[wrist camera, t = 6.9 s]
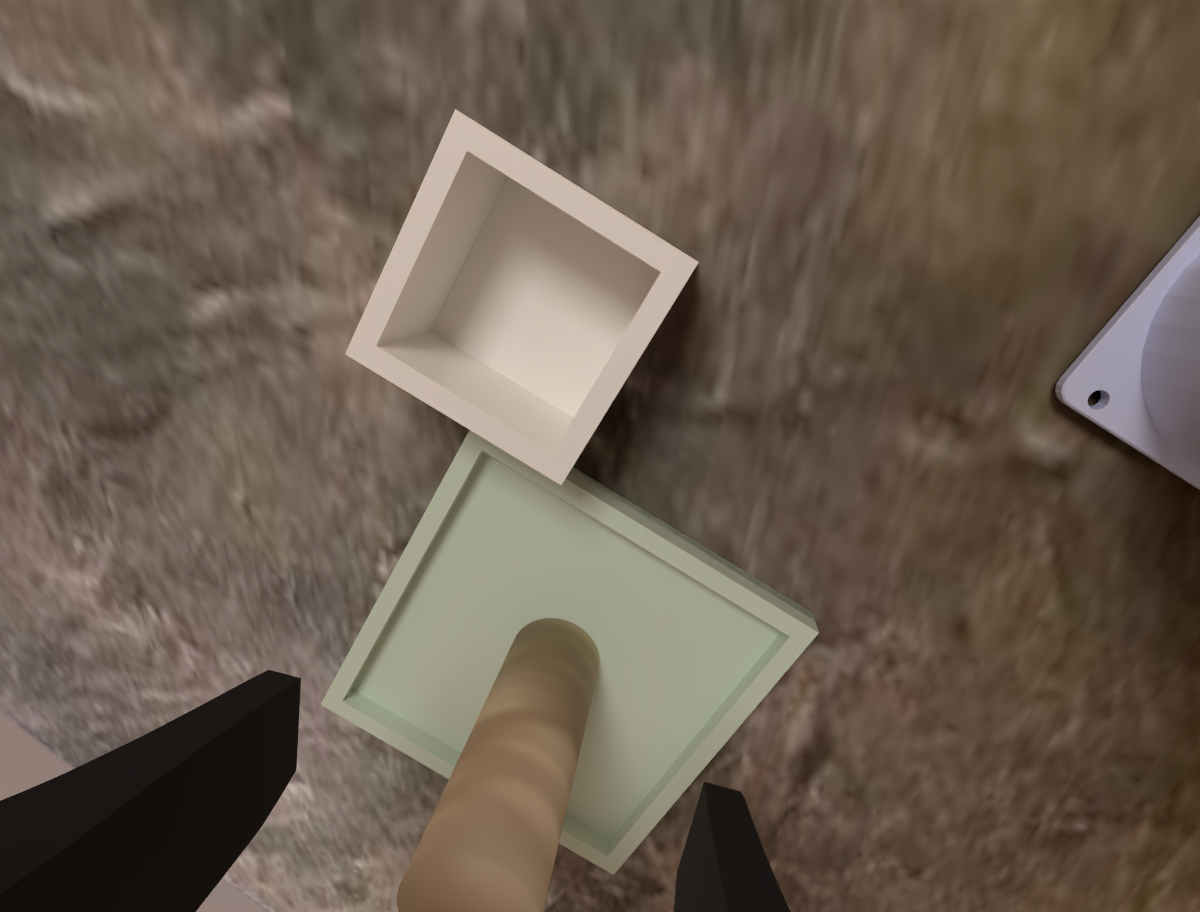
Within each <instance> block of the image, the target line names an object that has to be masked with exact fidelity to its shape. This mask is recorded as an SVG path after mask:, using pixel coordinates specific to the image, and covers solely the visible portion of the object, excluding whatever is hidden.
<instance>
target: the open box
mask: <svg viewBox="0 0 1200 912" xmlns="http://www.w3.org/2000/svg"><path fill="white" fill-rule="evenodd" d="M698 263H699V262H698V261H697V260H695V259H693V258H692V257H690V256H689V255H687V254H686V253H684V252H682V251H681V250H679V249H678V248H676V247H674V246H673V245H671V244H670V243H668V242H666V241H665V240H663V239H662V238H660V237H658V236H657V235H655V234H654V233H652V232H651V231H649V230H647V229H646V228H644V227H643V226H641V225H639V224H638V223H636V222H635V221H633V220H631V219H630V218H628V217H627V216H625V215H623V214H622V213H620V212H619V211H617V210H616V209H614V208H612V207H611V206H609V205H608V204H606V203H604V202H603V201H601V200H600V199H598V198H596V197H595V196H593V195H592V194H590V193H588V192H587V191H585V190H584V189H582V188H581V187H579V186H577V185H576V184H574V183H573V182H571V181H569V180H568V179H566V178H565V177H563V176H561V175H560V174H558V173H557V172H555V171H553V170H552V169H550V168H549V167H547V166H546V165H544V164H542V163H541V162H539V161H538V160H536V159H534V158H533V157H531V156H530V155H528V154H526V153H525V152H523V151H522V150H520V149H518V148H517V147H515V146H514V145H512V144H511V143H509V142H507V141H506V140H504V139H503V138H501V137H499V136H498V135H496V134H494V133H493V132H491V131H490V130H488V129H486V128H485V127H483V126H482V125H480V124H478V123H477V122H475V121H473V120H472V119H470V118H469V117H467V116H465V115H464V114H462V113H461V112H459V111H457V110H456V109H455V111H454V113H453V116H452V118H451V120H450V122H449V125H448V127H447V129H446V131H445V134H444V136H443V138H442V140H441V142H440V145H439V147H438V149H437V151H436V154H435V156H434V158H433V160H432V162H431V165H430V167H429V169H428V171H427V174H426V176H425V178H424V180H423V182H422V185H421V187H420V189H419V191H418V194H417V196H416V198H415V200H414V202H413V205H412V207H411V209H410V211H409V214H408V216H407V218H406V220H405V222H404V225H403V227H402V229H401V231H400V234H399V236H398V238H397V240H396V242H395V245H394V247H393V249H392V251H391V254H390V256H389V258H388V260H387V262H386V265H385V267H384V269H383V271H382V274H381V276H380V278H379V280H378V282H377V285H376V287H375V289H374V291H373V294H372V296H371V298H370V300H369V302H368V305H367V307H366V309H365V311H364V314H363V316H362V318H361V320H360V322H359V325H358V327H357V329H356V331H355V334H354V336H353V338H352V340H351V342H350V345H349V347H348V349H347V351H346V355H347V356H349V357H351V358H352V359H354V360H356V361H357V362H359V363H361V364H362V365H364V366H365V367H367V368H369V369H370V370H372V371H374V372H375V373H377V374H379V375H380V376H382V377H384V378H385V379H387V380H389V381H390V382H392V383H393V384H395V385H397V386H398V387H400V388H402V389H403V390H405V391H407V392H408V393H410V394H412V395H413V396H415V397H416V398H418V399H420V400H421V401H423V402H425V403H426V404H428V405H430V406H431V407H433V408H435V409H436V410H438V411H440V412H441V413H443V414H444V415H446V416H448V417H449V418H451V419H453V420H454V421H456V422H458V423H459V424H461V425H463V426H464V427H466V428H468V429H469V430H471V431H472V432H474V433H476V434H477V435H479V436H481V437H482V438H484V439H486V440H487V441H489V442H491V443H492V444H494V445H496V446H497V447H499V448H500V449H502V450H504V451H505V452H507V453H509V454H510V455H512V456H514V457H515V458H517V459H519V460H520V461H522V462H523V463H525V464H527V465H528V466H530V467H532V468H533V469H535V470H537V471H538V472H540V473H542V474H543V475H545V476H547V477H548V478H550V479H551V480H553V481H555V482H556V483H558V484H560V485H562V483H563V482H564V480H565V478H566V477H567V475H568V474H569V472H570V470H571V469H572V467H573V465H574V464H575V462H576V461H577V459H578V457H579V456H580V454H581V453H582V451H583V449H584V448H585V446H586V444H587V443H588V441H589V440H590V438H591V436H592V435H593V433H594V431H595V430H596V428H597V427H598V425H599V423H600V422H601V420H602V418H603V417H604V415H605V414H606V412H607V410H608V409H609V407H610V405H611V404H612V402H613V401H614V399H615V397H616V396H617V394H618V392H619V391H620V389H621V388H622V386H623V384H624V383H625V381H626V380H627V378H628V376H629V375H630V373H631V371H632V370H633V368H634V367H635V365H636V363H637V362H638V360H639V358H640V357H641V355H642V354H643V352H644V350H645V349H646V347H647V345H648V344H649V342H650V341H651V339H652V337H653V336H654V334H655V332H656V331H657V329H658V328H659V326H660V324H661V323H662V321H663V319H664V318H665V316H666V315H667V313H668V311H669V310H670V308H671V307H672V305H673V303H674V302H675V300H676V298H677V297H678V295H679V294H680V292H681V290H682V289H683V287H684V285H685V284H686V282H687V281H688V279H689V277H690V276H691V274H692V272H693V271H694V269H695V268H696V266H697V264H698Z"/></svg>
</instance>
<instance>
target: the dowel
mask: <svg viewBox="0 0 1200 912" xmlns="http://www.w3.org/2000/svg"><path fill="white" fill-rule="evenodd" d="M599 665H600V658H599V653H598V649H597V647H596V645H595V643H594V641H593V640H592V638H591V637H590V636H589V635H588V634H587V633H586V632H585V631H584V630H583V629H582V628H580V627H579V626H577V625H576V624H574V623H572V622H569V621H566V620H562V619H557V618H544V619H539V620H536V621H533V622H531V623H529V624H527V625H526V626H525V627H523V628H522V629H521V630H520V631H519V632H518V634H517V635H516V637H515V639H514V641H513V643H512V645H511V647H510V650H509V652H508V654H507V656H506V658H505V660H504V662H503V665H502V667H501V669H500V671H499V673H498V675H497V678H496V680H495V682H494V684H493V686H492V688H491V690H490V693H489V695H488V697H487V699H486V701H485V703H484V705H483V708H482V710H481V712H480V714H479V716H478V718H477V720H476V723H475V725H474V727H473V729H472V731H471V733H470V736H469V738H468V740H467V742H466V744H465V746H464V748H463V751H462V753H461V755H460V757H459V759H458V761H457V763H456V766H455V768H454V770H453V772H452V774H451V776H450V778H449V781H448V783H447V785H446V787H445V789H444V791H443V793H442V796H441V798H440V800H439V802H438V804H437V806H436V809H435V811H434V813H433V815H432V817H431V819H430V821H429V824H428V826H427V828H426V830H425V832H424V834H423V836H422V839H421V841H420V843H419V845H418V847H417V849H416V851H415V854H414V856H413V858H412V860H411V862H410V864H409V867H408V869H407V871H406V873H405V875H404V877H403V879H402V882H401V884H400V886H399V890H398V895H397V906H398V910H399V912H543V910H544V906H545V901H546V897H547V893H548V888H549V884H550V880H551V875H552V871H553V867H554V862H555V858H556V853H557V849H558V845H559V840H560V836H561V832H562V827H563V823H564V819H565V814H566V810H567V806H568V801H569V797H570V792H571V788H572V784H573V779H574V775H575V771H576V766H577V762H578V758H579V753H580V749H581V744H582V740H583V736H584V731H585V727H586V723H587V718H588V714H589V710H590V705H591V701H592V697H593V692H594V688H595V683H596V679H597V675H598V670H599Z"/></svg>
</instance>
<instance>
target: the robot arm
mask: <svg viewBox="0 0 1200 912" xmlns="http://www.w3.org/2000/svg"><path fill="white" fill-rule="evenodd" d="M1097 390H1099V391H1100V392H1101V398H1100V400H1099V402H1098V403H1096V404H1095V405H1093V406H1089V405H1088V398H1089V396H1090V394H1092V393H1093V392H1094V391H1097ZM1055 392H1056V395H1057V398H1058V399H1059V400H1060V401H1061V402H1062V403H1063V404H1065V405H1066V406H1068V407H1069V408H1071V409H1073V410H1074V411H1076V412H1077V413H1079V414H1080V415H1082V416H1084V417H1085V418H1087V419H1088V420H1090V421H1092V422H1093V423H1095V424H1096V425H1098V426H1099V427H1101V428H1103V429H1104V430H1106V431H1107V432H1109V433H1110V434H1112V435H1114V436H1115V437H1117V438H1118V439H1120V440H1121V441H1123V442H1125V443H1126V444H1128V445H1129V446H1131V447H1132V448H1134V449H1136V450H1137V451H1139V452H1140V453H1142V454H1144V455H1145V456H1147V457H1148V458H1150V459H1151V460H1153V461H1155V462H1156V463H1158V464H1159V465H1161V466H1162V467H1164V468H1166V469H1167V470H1169V471H1170V472H1172V473H1173V474H1175V475H1177V476H1178V477H1180V478H1181V479H1183V480H1184V481H1186V482H1188V483H1189V484H1191V485H1192V486H1194V487H1195V488H1197V489H1199V490H1200V216H1199V217H1198V218H1197V220H1196V221H1195V222H1194V223H1193V224H1192V225H1191V227H1190V228H1189V229H1188V230H1187V231H1186V232H1185V234H1184V235H1183V236H1182V237H1181V238H1180V239H1179V240H1178V242H1177V243H1176V244H1175V245H1174V246H1173V247H1172V249H1171V250H1170V251H1169V252H1168V253H1167V254H1166V256H1165V257H1164V258H1163V259H1162V260H1161V261H1160V263H1159V264H1158V265H1157V266H1156V267H1155V268H1154V269H1153V271H1152V272H1151V273H1150V274H1149V275H1148V276H1147V278H1146V279H1145V280H1144V281H1143V282H1142V283H1141V285H1140V286H1139V287H1138V288H1137V289H1136V290H1135V291H1134V293H1133V294H1132V295H1131V296H1130V297H1129V298H1128V300H1127V301H1126V302H1125V303H1124V304H1123V305H1122V307H1121V308H1120V309H1119V310H1118V311H1117V312H1116V314H1115V315H1114V316H1113V317H1112V318H1111V319H1110V320H1109V322H1108V323H1107V324H1106V325H1105V326H1104V327H1103V329H1102V330H1101V331H1100V332H1099V333H1098V334H1097V336H1096V337H1095V338H1094V339H1093V340H1092V341H1091V343H1090V344H1089V345H1088V346H1087V347H1086V348H1085V349H1084V351H1083V352H1082V353H1081V354H1080V355H1079V356H1078V358H1077V359H1076V360H1075V361H1074V362H1073V363H1072V365H1071V366H1070V367H1069V368H1068V369H1067V370H1066V372H1065V373H1064V374H1063V375H1062V376H1061V377H1060V379H1059V381H1058V382H1057V384H1056V390H1055ZM300 685H301V678H298V677H294V676H290V675H286V674H283V673H279V672H275V671H271V670H268V671H266V672H264V673H262V674H260V675H258V676H256V677H254V678H252V679H250V680H248V681H246V682H244V683H242V684H240V685H238V686H237V687H235V688H233V689H231V690H229V691H227V692H225V693H224V694H222V695H220V696H218V697H216V698H214V699H212V700H211V701H209V702H207V703H205V704H203V705H201V706H199V707H197V708H196V709H194V710H192V711H190V712H188V713H186V714H184V715H182V716H180V717H178V718H176V719H175V720H173V721H171V722H169V723H167V724H165V725H163V726H161V727H159V728H157V729H155V730H153V731H152V732H150V733H148V734H146V735H144V736H142V737H140V738H138V739H136V740H134V741H132V742H130V743H128V744H125V745H123V746H121V747H119V748H117V749H115V750H113V751H111V752H109V753H107V754H105V755H102V756H100V757H98V758H96V759H94V760H92V761H90V762H88V763H86V764H84V765H82V766H79V767H77V768H75V769H73V770H71V771H69V772H67V773H65V774H63V775H60V776H58V777H56V778H54V779H51V780H49V781H47V782H45V783H42V784H40V785H38V786H35V787H33V788H30V789H28V790H26V791H23V792H21V793H18V794H16V795H14V796H11V797H9V798H6V799H4V800H2V801H0V912H196V910H197V909H198V908H199V907H200V905H201V904H202V903H203V902H204V900H205V899H206V898H207V897H208V895H209V894H210V893H211V891H212V890H213V889H214V888H215V886H216V885H217V884H218V882H219V881H220V880H221V879H222V877H223V876H224V875H225V874H226V872H227V871H228V870H229V868H230V867H231V866H232V864H233V863H234V862H235V861H236V859H237V858H238V857H239V855H240V854H241V853H242V852H243V850H244V849H245V848H246V846H247V845H248V844H249V842H250V841H251V840H252V838H253V837H254V836H255V835H256V833H257V832H258V831H259V829H260V828H261V827H262V825H263V823H264V822H265V820H266V819H267V817H268V815H269V814H270V812H271V811H272V809H273V808H274V806H275V804H276V803H277V801H278V800H279V798H280V796H281V795H282V793H283V791H284V790H285V788H286V786H287V785H288V783H289V781H290V780H291V778H292V776H293V775H294V773H295V771H296V766H297V746H298V725H299V705H300ZM674 912H790V910H789V908H788V906H787V903H786V901H785V899H784V897H783V895H782V892H781V890H780V888H779V886H778V883H777V881H776V878H775V876H774V874H773V871H772V869H771V867H770V864H769V862H768V859H767V857H766V854H765V852H764V849H763V847H762V844H761V842H760V839H759V836H758V834H757V831H756V828H755V826H754V823H753V820H752V818H751V815H750V812H749V809H748V806H747V804H746V801H745V798H744V797H743V795H742V793H741V792H740V791H737V790H733V789H729V788H725V787H721V786H718V785H714V784H710V783H706V782H704V784H703V788H702V791H701V794H700V798H699V801H698V804H697V808H696V811H695V814H694V818H693V821H692V824H691V828H690V831H689V835H688V838H687V841H686V845H685V848H684V851H683V855H682V858H681V861H680V865H679V868H678V871H677V881H676V893H675V905H674Z"/></svg>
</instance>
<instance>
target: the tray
mask: <svg viewBox="0 0 1200 912" xmlns="http://www.w3.org/2000/svg"><path fill="white" fill-rule="evenodd" d="M544 618H557V619H562V620H566V621H569V622H572V623H574V624H576V625H577V626H579V627H580V628H582V629H583V630H584V631H585V632H586V633H587V634H588V635H589V636H590V637H591V638H592V640H593V641H594V643H595V645H596V647H597V649H598V653H599V658H600V665H599V670H598V675H597V679H596V683H595V688H594V692H593V697H592V701H591V705H590V710H589V714H588V718H587V723H586V727H585V731H584V736H583V740H582V744H581V749H580V753H579V758H578V762H577V766H576V771H575V775H574V779H573V784H572V788H571V792H570V797H569V801H568V806H567V810H566V814H565V819H564V823H563V827H562V832H561V836H560V840H559V844H561V845H563V846H564V847H566V848H568V849H569V850H571V851H573V852H575V853H576V854H578V855H580V856H581V857H583V858H585V859H587V860H588V861H590V862H592V863H593V864H595V865H597V866H599V867H600V868H602V869H604V870H605V871H607V872H609V873H611V874H612V875H614V874H615V873H616V872H617V870H618V869H619V868H620V867H621V866H622V864H623V863H624V862H625V861H626V860H627V859H628V857H629V856H630V855H631V854H632V853H633V852H634V850H635V849H636V848H637V847H638V846H639V844H640V843H641V842H642V841H643V840H644V839H645V837H646V836H647V835H648V834H649V833H650V831H651V830H652V829H653V828H654V827H655V826H656V824H657V823H658V822H659V821H660V820H661V819H662V817H663V816H664V815H665V814H666V813H667V811H668V810H669V809H670V808H671V807H672V806H673V804H674V803H675V802H676V801H677V800H678V798H679V797H680V796H681V795H682V794H683V793H684V791H685V790H686V789H687V788H688V787H689V785H690V784H691V783H692V782H693V781H694V780H695V778H696V777H697V776H698V775H699V774H700V773H701V771H702V770H703V769H704V768H705V767H706V765H707V764H708V763H709V762H710V761H711V760H712V758H713V757H714V756H715V755H716V754H717V752H718V751H719V750H720V749H721V748H722V747H723V745H724V744H725V743H726V742H727V741H728V740H729V738H730V737H731V736H732V735H733V734H734V732H735V731H736V730H737V729H738V728H739V727H740V725H741V724H742V723H743V722H744V721H745V719H746V718H747V717H748V716H749V715H750V714H751V712H752V711H753V710H754V709H755V708H756V707H757V705H758V704H759V703H760V702H761V701H762V699H763V698H764V697H765V696H766V695H767V694H768V692H769V691H770V690H771V689H772V688H773V686H774V685H775V684H776V683H777V682H778V681H779V679H780V678H781V677H782V676H783V675H784V673H785V672H786V671H787V670H788V669H789V668H790V666H791V665H792V664H793V663H794V662H795V661H796V659H797V658H798V657H799V656H800V655H801V653H802V652H803V651H804V650H805V649H806V648H807V646H808V645H809V644H810V643H811V642H812V640H813V639H814V638H815V637H816V636H817V635H818V633H819V632H818V629H817V626H816V623H815V620H814V617H813V614H812V612H811V611H809V610H807V609H806V608H804V607H802V606H801V605H799V604H798V603H796V602H794V601H793V600H791V599H789V598H788V597H786V596H784V595H783V594H781V593H779V592H778V591H776V590H775V589H773V588H771V587H770V586H768V585H766V584H765V583H763V582H761V581H760V580H758V579H756V578H755V577H753V576H752V575H750V574H748V573H747V572H745V571H743V570H742V569H740V568H738V567H737V566H735V565H733V564H732V563H730V562H729V561H727V560H725V559H724V558H722V557H720V556H719V555H717V554H715V553H714V552H712V551H711V550H709V549H707V548H706V547H704V546H702V545H701V544H699V543H697V542H696V541H694V540H692V539H691V538H689V537H688V536H686V535H684V534H683V533H681V532H679V531H678V530H676V529H674V528H673V527H671V526H669V525H668V524H666V523H665V522H663V521H661V520H660V519H658V518H656V517H655V516H653V515H651V514H650V513H648V512H646V511H645V510H643V509H642V508H640V507H638V506H637V505H635V504H633V503H632V502H630V501H628V500H627V499H625V498H624V497H622V496H620V495H619V494H617V493H615V492H614V491H612V490H610V489H609V488H607V487H605V486H604V485H602V484H601V483H599V482H597V481H596V480H594V479H592V478H591V477H589V476H587V475H586V474H584V473H582V472H581V471H579V470H578V469H576V468H574V467H572V469H571V470H570V472H569V474H568V475H567V477H566V478H565V480H564V482H563V483H562V485H560V484H558V483H556V482H555V481H553V480H551V479H550V478H548V477H547V476H545V475H543V474H542V473H540V472H538V471H537V470H535V469H533V468H532V467H530V466H528V465H527V464H525V463H523V462H522V461H520V460H519V459H517V458H515V457H514V456H512V455H510V454H509V453H507V452H505V451H504V450H502V449H500V448H499V447H497V446H496V445H494V444H492V443H491V442H489V441H487V440H486V439H484V438H482V437H481V436H479V435H477V434H476V433H474V432H472V431H471V430H469V432H468V434H467V436H466V438H465V440H464V441H463V443H462V445H461V447H460V449H459V451H458V452H457V454H456V456H455V458H454V460H453V462H452V463H451V465H450V467H449V469H448V471H447V473H446V475H445V476H444V478H443V480H442V482H441V484H440V486H439V487H438V489H437V491H436V493H435V495H434V497H433V498H432V500H431V502H430V504H429V506H428V508H427V510H426V511H425V513H424V515H423V517H422V519H421V521H420V522H419V524H418V526H417V528H416V530H415V532H414V534H413V535H412V537H411V539H410V541H409V543H408V545H407V546H406V548H405V550H404V552H403V554H402V556H401V557H400V559H399V561H398V563H397V565H396V567H395V569H394V570H393V572H392V574H391V576H390V578H389V580H388V581H387V583H386V585H385V587H384V589H383V591H382V592H381V594H380V596H379V598H378V600H377V602H376V604H375V605H374V607H373V609H372V611H371V613H370V615H369V616H368V618H367V620H366V622H365V624H364V626H363V627H362V629H361V631H360V633H359V635H358V637H357V639H356V640H355V642H354V644H353V646H352V648H351V650H350V651H349V653H348V655H347V657H346V659H345V661H344V662H343V664H342V666H341V668H340V670H339V672H338V674H337V675H336V677H335V679H334V681H333V683H332V685H331V686H330V688H329V690H328V692H327V694H326V696H325V697H324V699H323V701H322V703H321V705H322V706H324V707H326V708H328V709H329V710H331V711H333V712H334V713H336V714H338V715H340V716H341V717H343V718H345V719H346V720H348V721H350V722H352V723H353V724H355V725H357V726H358V727H360V728H362V729H364V730H365V731H367V732H369V733H370V734H372V735H374V736H376V737H377V738H379V739H381V740H382V741H384V742H386V743H388V744H389V745H391V746H393V747H394V748H396V749H398V750H400V751H401V752H403V753H405V754H406V755H408V756H410V757H412V758H413V759H415V760H417V761H418V762H420V763H422V764H424V765H425V766H427V767H429V768H430V769H432V770H434V771H436V772H437V773H439V774H441V775H442V776H444V777H446V778H448V779H449V778H450V776H451V774H452V772H453V770H454V768H455V766H456V763H457V761H458V759H459V757H460V755H461V753H462V751H463V748H464V746H465V744H466V742H467V740H468V738H469V736H470V733H471V731H472V729H473V727H474V725H475V723H476V720H477V718H478V716H479V714H480V712H481V710H482V708H483V705H484V703H485V701H486V699H487V697H488V695H489V693H490V690H491V688H492V686H493V684H494V682H495V680H496V678H497V675H498V673H499V671H500V669H501V667H502V665H503V662H504V660H505V658H506V656H507V654H508V652H509V650H510V647H511V645H512V643H513V641H514V639H515V637H516V635H517V634H518V632H519V631H520V630H521V629H522V628H523V627H525V626H526V625H527V624H529V623H531V622H533V621H536V620H539V619H544Z"/></svg>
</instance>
